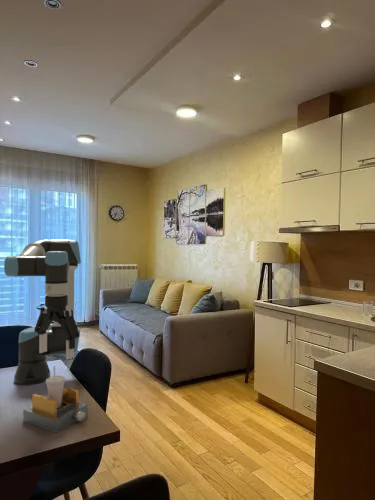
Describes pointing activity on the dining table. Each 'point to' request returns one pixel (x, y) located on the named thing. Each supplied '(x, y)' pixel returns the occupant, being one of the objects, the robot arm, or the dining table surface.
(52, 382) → the smoothie
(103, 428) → the dining table surface
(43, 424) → the vise
